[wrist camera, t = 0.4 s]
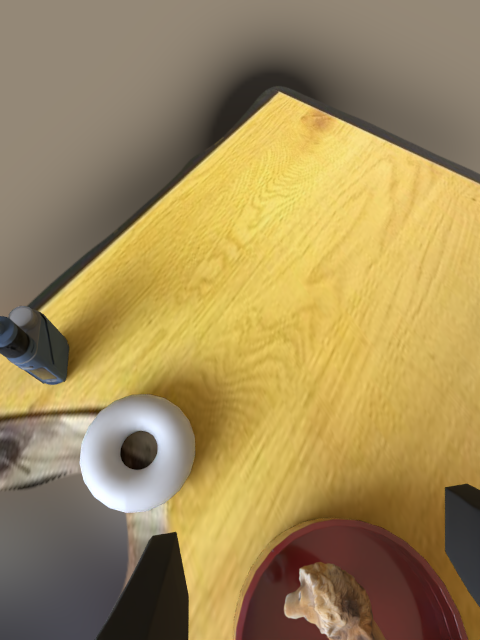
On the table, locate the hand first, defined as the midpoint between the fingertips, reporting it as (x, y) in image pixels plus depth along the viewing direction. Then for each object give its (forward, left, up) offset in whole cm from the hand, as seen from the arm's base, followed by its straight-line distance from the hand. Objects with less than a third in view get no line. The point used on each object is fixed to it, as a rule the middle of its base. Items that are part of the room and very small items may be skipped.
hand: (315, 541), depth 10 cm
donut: (+7, +9, -27) cm, 29 cm away
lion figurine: (-10, -6, -26) cm, 29 cm away
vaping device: (+17, +17, -27) cm, 36 cm away
